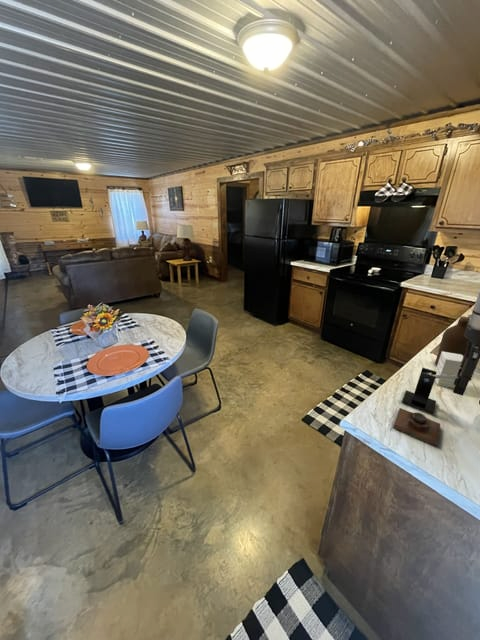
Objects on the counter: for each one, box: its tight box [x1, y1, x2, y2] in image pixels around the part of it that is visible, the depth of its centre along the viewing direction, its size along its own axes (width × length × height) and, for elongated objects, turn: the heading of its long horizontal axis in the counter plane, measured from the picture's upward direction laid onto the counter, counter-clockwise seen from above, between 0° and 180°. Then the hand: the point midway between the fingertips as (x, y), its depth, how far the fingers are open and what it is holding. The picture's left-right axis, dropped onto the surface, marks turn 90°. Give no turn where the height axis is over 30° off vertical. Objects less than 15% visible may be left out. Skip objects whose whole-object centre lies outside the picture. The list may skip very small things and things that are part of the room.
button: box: [412, 412, 427, 424], centre depth 86 cm, size 4×4×2 cm
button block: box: [392, 407, 441, 447], centre depth 87 cm, size 12×10×4 cm
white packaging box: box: [434, 351, 463, 389], centre depth 109 cm, size 7×7×13 cm
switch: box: [423, 372, 461, 379], centre depth 92 cm, size 12×5×2 cm, turn 51°
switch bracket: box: [401, 367, 437, 416], centre depth 97 cm, size 10×8×14 cm
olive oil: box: [434, 315, 470, 367], centre depth 119 cm, size 11×11×25 cm
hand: (458, 389), depth 90 cm, fingers closed on switch, 5 cm apart
